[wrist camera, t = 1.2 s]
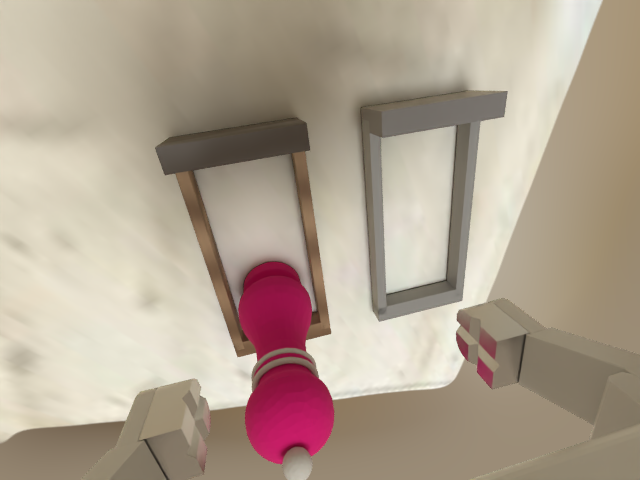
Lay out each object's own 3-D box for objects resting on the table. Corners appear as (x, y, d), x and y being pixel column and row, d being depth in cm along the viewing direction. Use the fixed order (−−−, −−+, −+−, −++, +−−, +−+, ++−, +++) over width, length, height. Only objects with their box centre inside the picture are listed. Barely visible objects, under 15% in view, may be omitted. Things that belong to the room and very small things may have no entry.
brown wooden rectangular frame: (169, 137, 27) (154, 147, 23) (296, 117, 28) (306, 123, 24) (237, 344, 38) (237, 378, 33) (327, 322, 39) (337, 352, 35)
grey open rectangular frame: (360, 107, 29) (381, 111, 25) (469, 90, 31) (507, 91, 26) (373, 311, 40) (389, 339, 36) (452, 291, 42) (477, 315, 37)
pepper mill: (283, 245, 34) (327, 419, 16) (314, 291, 37) (378, 476, 20) (225, 278, 34) (205, 485, 16) (261, 321, 37) (277, 530, 20)
